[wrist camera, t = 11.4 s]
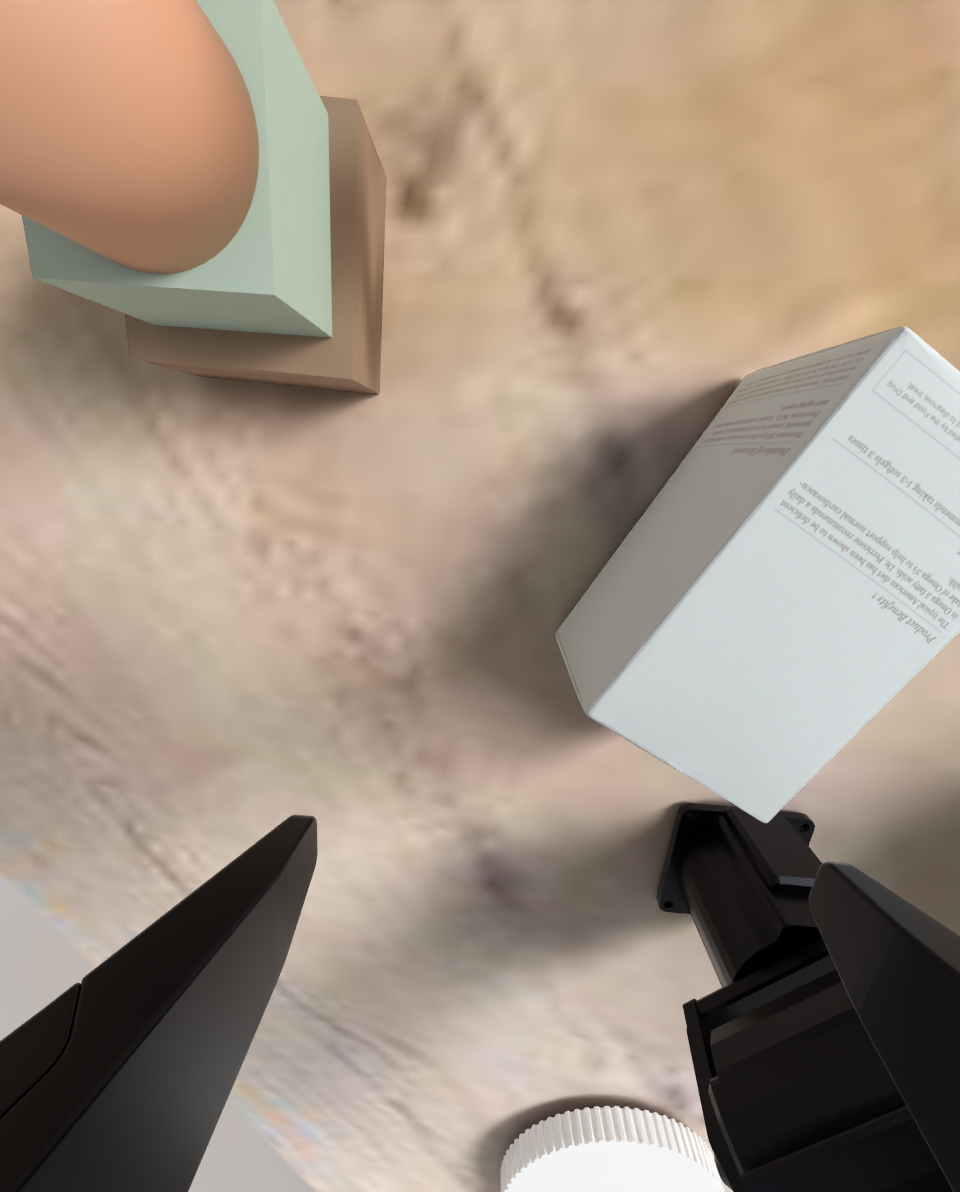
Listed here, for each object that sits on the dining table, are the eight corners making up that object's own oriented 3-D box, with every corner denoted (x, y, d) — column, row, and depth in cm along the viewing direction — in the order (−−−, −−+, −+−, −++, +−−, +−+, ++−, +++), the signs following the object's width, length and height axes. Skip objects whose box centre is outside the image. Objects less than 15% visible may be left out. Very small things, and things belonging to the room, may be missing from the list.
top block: (332, 337, 14) (274, 294, 11) (154, 324, 15) (32, 278, 11) (328, 114, 13) (258, -31, 9) (128, 101, 13) (-25, -50, 9)
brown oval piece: (260, 288, 11) (102, 175, 6) (38, 258, 11) (-275, 122, 6) (258, -3, 9) (52, -405, 5) (1, -40, 9) (-436, -481, 5)
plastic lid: (493, 1086, 30) (493, 1141, 28) (714, 1083, 30) (734, 1138, 27) (506, 1215, 34) (507, 1273, 32) (703, 1214, 34) (719, 1273, 31)
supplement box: (742, 369, 18) (546, 630, 21) (915, 313, 11) (580, 722, 14) (880, 480, 19) (675, 712, 22) (1119, 496, 12) (767, 835, 15)
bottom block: (380, 394, 19) (352, 379, 15) (204, 377, 19) (129, 356, 15) (387, 181, 17) (357, 99, 13) (190, 161, 17) (99, 73, 13)
